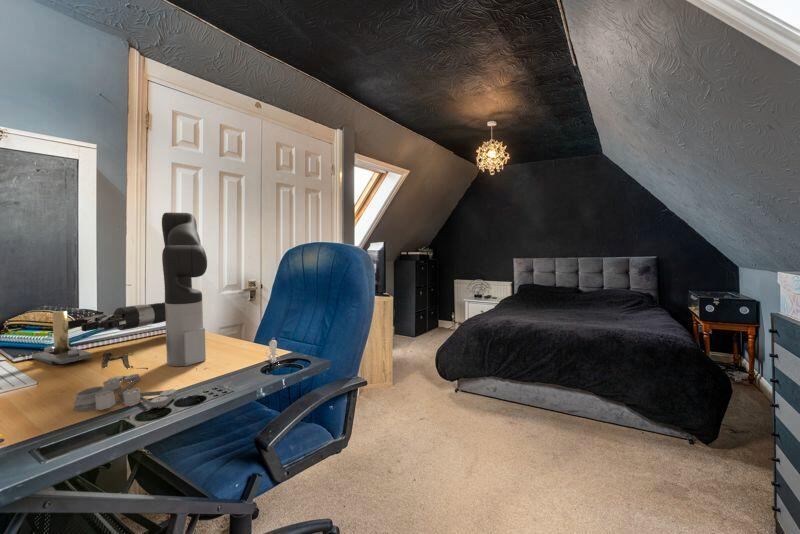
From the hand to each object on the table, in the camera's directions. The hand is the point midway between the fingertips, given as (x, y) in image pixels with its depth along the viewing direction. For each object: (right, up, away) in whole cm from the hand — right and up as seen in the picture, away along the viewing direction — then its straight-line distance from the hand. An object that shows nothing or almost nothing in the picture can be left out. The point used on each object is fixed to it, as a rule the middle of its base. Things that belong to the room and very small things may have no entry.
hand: (74, 326), depth 110 cm
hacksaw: (+18, -10, -5) cm, 22 cm away
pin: (-2, -9, -2) cm, 10 cm away
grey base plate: (-2, -9, -2) cm, 10 cm away
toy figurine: (+60, -10, -3) cm, 60 cm away
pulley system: (+35, -12, -29) cm, 47 cm away
